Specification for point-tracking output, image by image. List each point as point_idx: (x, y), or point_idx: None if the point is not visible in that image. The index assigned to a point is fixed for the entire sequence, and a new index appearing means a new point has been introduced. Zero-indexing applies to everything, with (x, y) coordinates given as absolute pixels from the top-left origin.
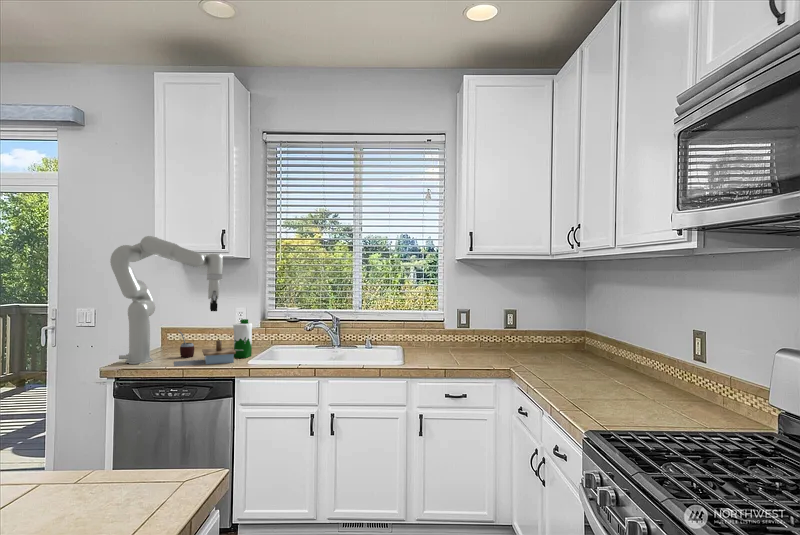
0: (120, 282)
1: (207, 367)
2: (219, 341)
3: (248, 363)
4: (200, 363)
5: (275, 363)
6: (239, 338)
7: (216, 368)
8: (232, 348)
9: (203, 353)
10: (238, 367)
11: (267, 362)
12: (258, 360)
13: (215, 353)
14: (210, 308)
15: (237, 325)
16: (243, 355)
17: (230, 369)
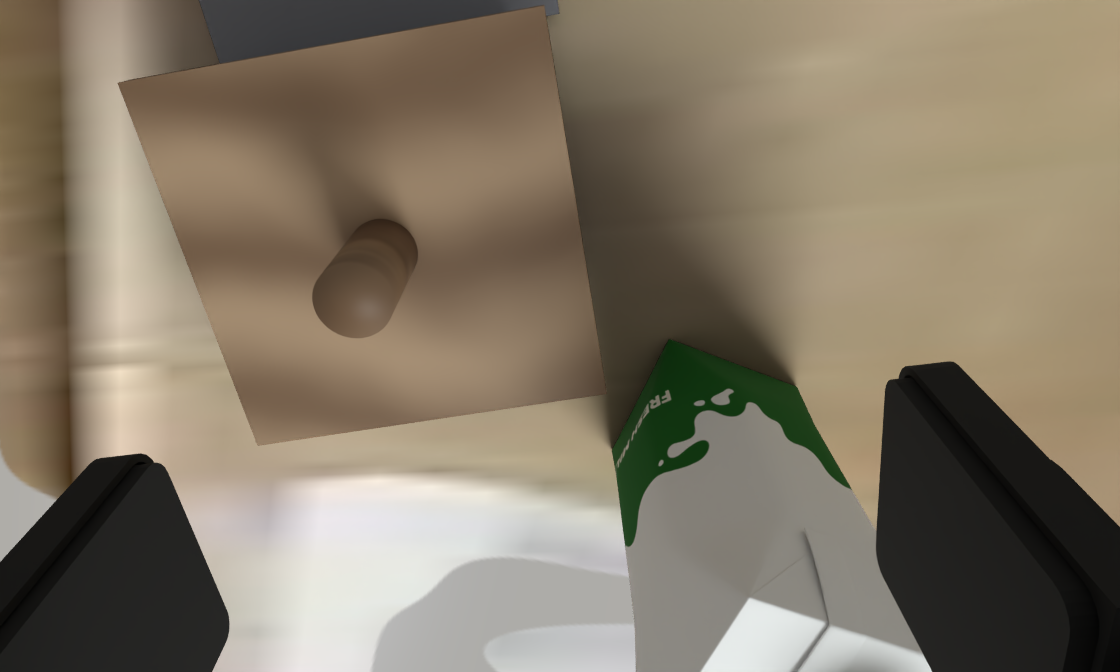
0: None
1: (109, 116)
2: (317, 310)
3: (315, 481)
4: (278, 12)
5: (292, 665)
6: (638, 530)
7: (52, 218)
8: (536, 395)
9: (234, 61)
10: (110, 411)
11: (347, 614)
12: (463, 551)
13: (177, 228)
14: (907, 398)
15: (703, 649)
16: (619, 445)
17: (5, 351)
